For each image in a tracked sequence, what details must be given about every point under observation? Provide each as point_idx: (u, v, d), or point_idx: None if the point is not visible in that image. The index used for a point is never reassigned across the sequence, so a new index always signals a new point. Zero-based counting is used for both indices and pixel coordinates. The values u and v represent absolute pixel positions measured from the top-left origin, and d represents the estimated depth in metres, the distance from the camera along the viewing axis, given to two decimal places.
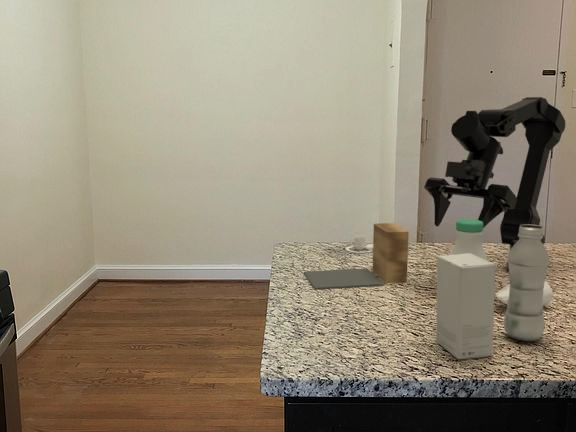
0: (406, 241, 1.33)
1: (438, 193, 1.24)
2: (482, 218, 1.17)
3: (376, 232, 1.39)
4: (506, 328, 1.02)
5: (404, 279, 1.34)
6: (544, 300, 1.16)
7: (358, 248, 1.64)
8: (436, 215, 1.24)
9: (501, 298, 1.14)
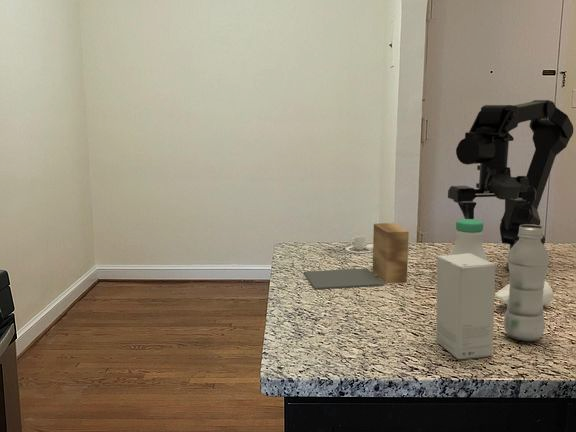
0: (406, 241, 1.33)
1: (475, 205, 1.29)
2: (514, 217, 1.33)
3: (376, 232, 1.39)
4: (506, 328, 1.02)
5: (404, 279, 1.34)
6: (544, 300, 1.16)
7: (358, 248, 1.64)
8: None
9: (501, 298, 1.14)
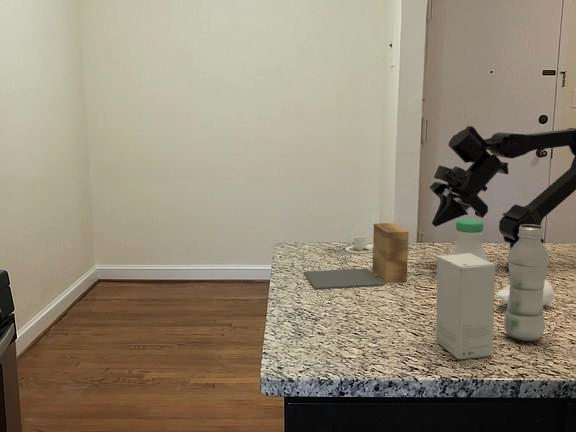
0: (406, 241, 1.33)
1: (443, 197, 1.38)
2: (441, 214, 1.37)
3: (376, 232, 1.39)
4: (506, 328, 1.02)
5: (404, 279, 1.34)
6: (546, 300, 1.16)
7: (358, 248, 1.64)
8: (435, 216, 1.38)
9: (502, 297, 1.14)
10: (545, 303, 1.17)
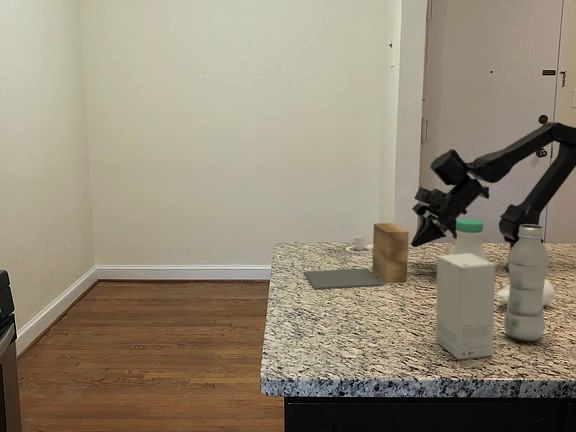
0: (406, 241, 1.33)
1: (423, 218, 1.39)
2: (419, 235, 1.37)
3: (376, 232, 1.39)
4: (506, 328, 1.02)
5: (404, 279, 1.34)
6: (546, 299, 1.16)
7: (358, 248, 1.64)
8: (415, 237, 1.39)
9: (502, 297, 1.14)
10: (546, 303, 1.17)
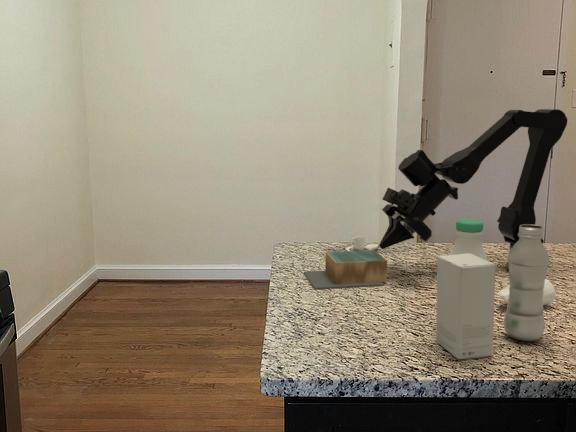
0: (345, 264, 1.31)
1: (391, 220, 1.37)
2: (387, 236, 1.36)
3: None
4: (506, 328, 1.02)
5: (383, 262, 1.33)
6: (547, 299, 1.17)
7: (358, 248, 1.64)
8: (383, 238, 1.38)
9: (503, 297, 1.14)
10: (546, 302, 1.17)
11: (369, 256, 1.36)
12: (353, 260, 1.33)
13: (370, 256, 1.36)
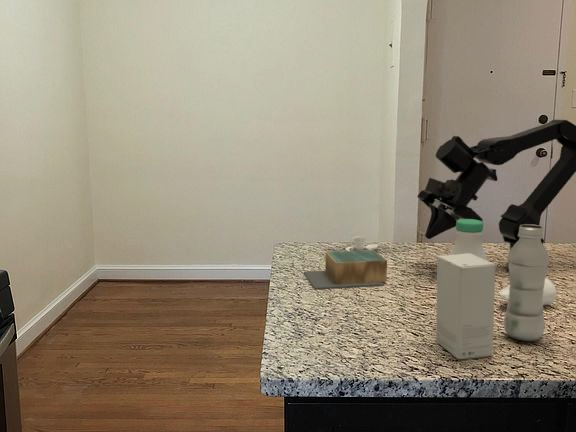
0: (345, 264, 1.31)
1: (434, 209, 1.37)
2: (434, 227, 1.36)
3: None
4: (506, 328, 1.02)
5: (383, 262, 1.33)
6: (548, 299, 1.17)
7: (358, 248, 1.64)
8: (428, 228, 1.37)
9: (504, 296, 1.15)
10: (547, 302, 1.17)
11: (369, 256, 1.36)
12: (353, 260, 1.33)
13: (370, 256, 1.36)
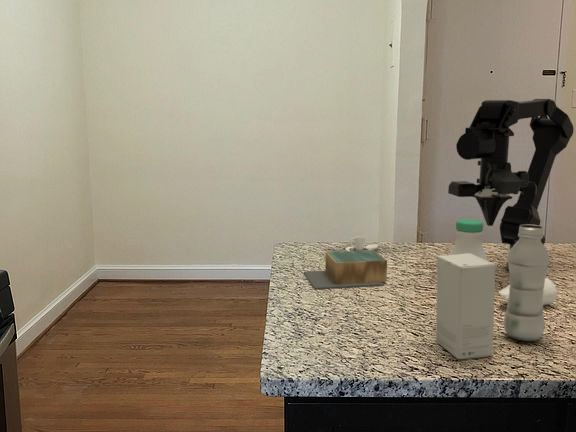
0: (345, 264, 1.31)
1: (493, 199, 1.30)
2: (497, 213, 1.32)
3: None
4: (506, 328, 1.02)
5: (383, 262, 1.33)
6: (548, 299, 1.17)
7: (358, 248, 1.64)
8: (490, 217, 1.32)
9: (504, 296, 1.15)
10: (548, 302, 1.18)
11: (369, 256, 1.36)
12: (353, 260, 1.33)
13: (370, 256, 1.36)
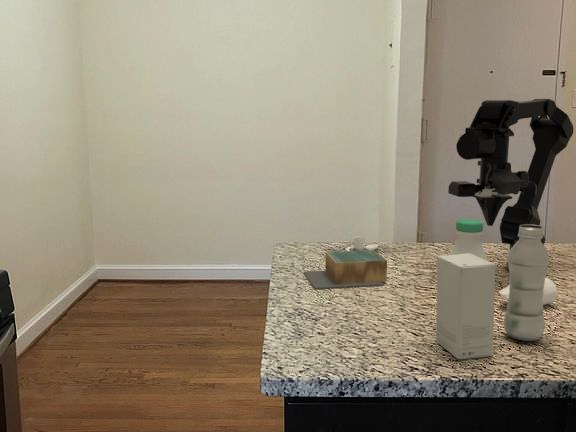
0: (345, 264, 1.31)
1: (493, 199, 1.30)
2: (497, 213, 1.32)
3: None
4: (506, 328, 1.02)
5: (383, 262, 1.33)
6: (549, 298, 1.17)
7: (358, 248, 1.64)
8: (490, 217, 1.32)
9: (504, 296, 1.15)
10: (548, 302, 1.18)
11: (369, 256, 1.36)
12: (353, 260, 1.33)
13: (370, 256, 1.36)
